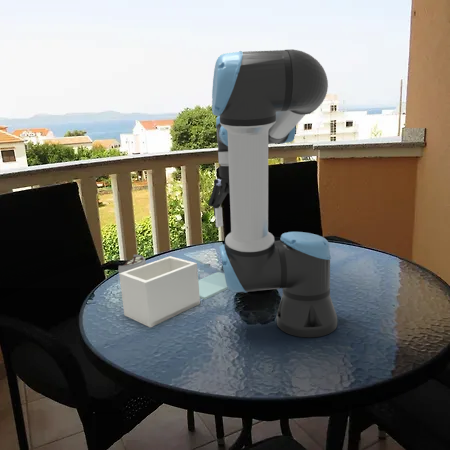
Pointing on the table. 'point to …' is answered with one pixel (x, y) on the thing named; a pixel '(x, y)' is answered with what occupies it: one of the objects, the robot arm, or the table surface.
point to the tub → (159, 290)
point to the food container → (132, 263)
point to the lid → (212, 285)
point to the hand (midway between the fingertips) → (234, 228)
